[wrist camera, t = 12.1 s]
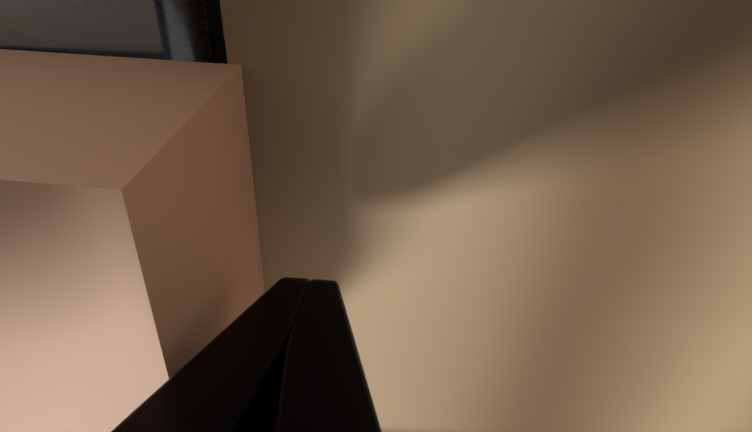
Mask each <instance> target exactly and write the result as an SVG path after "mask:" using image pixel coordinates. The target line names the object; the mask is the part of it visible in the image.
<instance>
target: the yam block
mask: <svg viewBox="0 0 752 432" xmlns="http://www.w3.org/2000/svg"><path fill="white" fill-rule="evenodd" d="M264 293H265V287H264V278H263V268H262V259H261V249H260V239H259V230H258V220H257V211H256V201H255V192H254V182H253V173H252V163H251V154H250V144H249V135H248V125H247V116H246V106H245V97H244V87H243V77H242V68H241V65H237V64H221V63H206V62H191V61H175V60H160V59H145V58H129V57H114V56H98V55H83V54H68V53H52V52H37V51H22V50H6V49H0V432H111V431H112V430H113V429H114V428H115V427H116V426H118V425H119V424H120V423H121V422H122V421H123V420H124V419H125V418H126V417H128V416H129V415H130V414H131V413H132V412H133V411H134V410H135V409H136V408H138V407H139V406H140V405H141V404H142V403H143V402H144V401H145V400H146V399H147V398H149V397H150V396H151V395H152V394H153V393H154V392H155V391H156V390H157V389H159V388H160V387H161V386H162V385H163V384H164V383H165V382H166V381H167V380H169V379H170V378H171V377H172V376H173V375H174V374H175V373H176V372H177V371H179V370H180V369H181V368H182V367H183V366H184V365H185V364H186V363H187V362H188V361H190V360H191V359H192V358H193V357H194V356H195V355H196V354H197V353H198V352H200V351H201V350H202V349H203V348H204V347H205V346H206V345H207V344H208V343H210V342H211V341H212V340H213V339H214V338H215V337H216V336H217V335H218V334H220V333H221V332H222V331H223V330H224V329H225V328H226V327H227V326H228V325H229V324H231V323H232V322H233V321H234V320H235V319H236V318H237V317H238V316H239V315H241V314H242V313H243V312H244V311H245V310H246V309H247V308H248V307H249V306H251V305H252V304H253V303H254V302H255V301H256V300H257V299H258V298H259V297H260V296H262V295H263V294H264Z"/></svg>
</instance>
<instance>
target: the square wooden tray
mask: <svg viewBox="0 0 752 432" xmlns="http://www.w3.org/2000/svg"><path fill="white" fill-rule="evenodd" d="M220 8H221V16H222V23H223V31H224V39H225V47H226V55H227V63H228V64H237V65H241V68H242V77H243V87H244V97H245V106H246V116H247V125H248V135H249V144H250V154H251V163H252V173H253V182H254V192H255V201H256V211H257V220H258V230H259V239H260V249H261V259H262V268H263V278H264V287H265V292H266V291H267V290H268V289H269V288H270V287H272V286H273V285H274V284H275V283H276V282H277V281H278V280H279V279H281V278H283V277H296V278H307V279H309V280H312V279H323V280H335V281H336V282H337V283H338V284H339V287H340V290H341V294H342V297H343V301H344V304H345V308H346V311H347V314H348V318H349V321H350V325H351V328H352V332H353V335H354V338H355V342H356V345H357V349H358V352H359V356H360V359H361V362H362V366H363V369H364V373H365V376H366V380H367V383H368V386H369V390H370V393H371V397H372V400H373V404H374V407H375V410H376V414H377V417H378V421H379V424H380V428H381V431H382V432H752V0H220Z"/></svg>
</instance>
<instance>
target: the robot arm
mask: <svg viewBox="0 0 752 432" xmlns="http://www.w3.org/2000/svg"><path fill="white" fill-rule="evenodd" d="M111 432H382V431H381V428H380V424H379V421H378V417H377V414H376V410H375V407H374V404H373V400H372V397H371V393H370V390H369V386H368V383H367V380H366V376H365V373H364V369H363V366H362V362H361V359H360V356H359V352H358V349H357V345H356V342H355V338H354V335H353V332H352V328H351V325H350V321H349V318H348V314H347V311H346V308H345V304H344V301H343V297H342V294H341V290H340V287H339V284H338V283H337V282H336V281H335V280H323V279H312V280H309V279H307V278H296V277H283V278H281V279H279V280H278V281H277V282H276V283H275V284H274V285H273V286H272V287H270V288H269V289H268V290H267V291H266V292H265V293H264V294H263V295H262V296H260V297H259V298H258V299H257V300H256V301H255V302H254V303H253V304H252V305H251V306H249V307H248V308H247V309H246V310H245V311H244V312H243V313H242V314H241V315H239V316H238V317H237V318H236V319H235V320H234V321H233V322H232V323H231V324H229V325H228V326H227V327H226V328H225V329H224V330H223V331H222V332H221V333H220V334H218V335H217V336H216V337H215V338H214V339H213V340H212V341H211V342H210V343H208V344H207V345H206V346H205V347H204V348H203V349H202V350H201V351H200V352H198V353H197V354H196V355H195V356H194V357H193V358H192V359H191V360H190V361H188V362H187V363H186V364H185V365H184V366H183V367H182V368H181V369H180V370H179V371H177V372H176V373H175V374H174V375H173V376H172V377H171V378H170V379H169V380H167V381H166V382H165V383H164V384H163V385H162V386H161V387H160V388H159V389H157V390H156V391H155V392H154V393H153V394H152V395H151V396H150V397H149V398H147V399H146V400H145V401H144V402H143V403H142V404H141V405H140V406H139V407H138V408H136V409H135V410H134V411H133V412H132V413H131V414H130V415H129V416H128V417H126V418H125V419H124V420H123V421H122V422H121V423H120V424H119V425H118V426H116V427H115V428H114V429H113V430H112V431H111Z"/></svg>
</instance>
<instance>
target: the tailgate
mask: <svg viewBox="0 0 752 432" xmlns="http://www.w3.org/2000/svg"><path fill="white" fill-rule="evenodd" d="M0 49H6V50H22V51H37V52H52V53H68V54H83V55H98V56H114V57H129V58H145V59H160V60H175V61H191V62H206V63H213V60H212V53H211V46H210V39H209V32H208V25H207V18H206V11H205V4H204V0H0Z"/></svg>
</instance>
